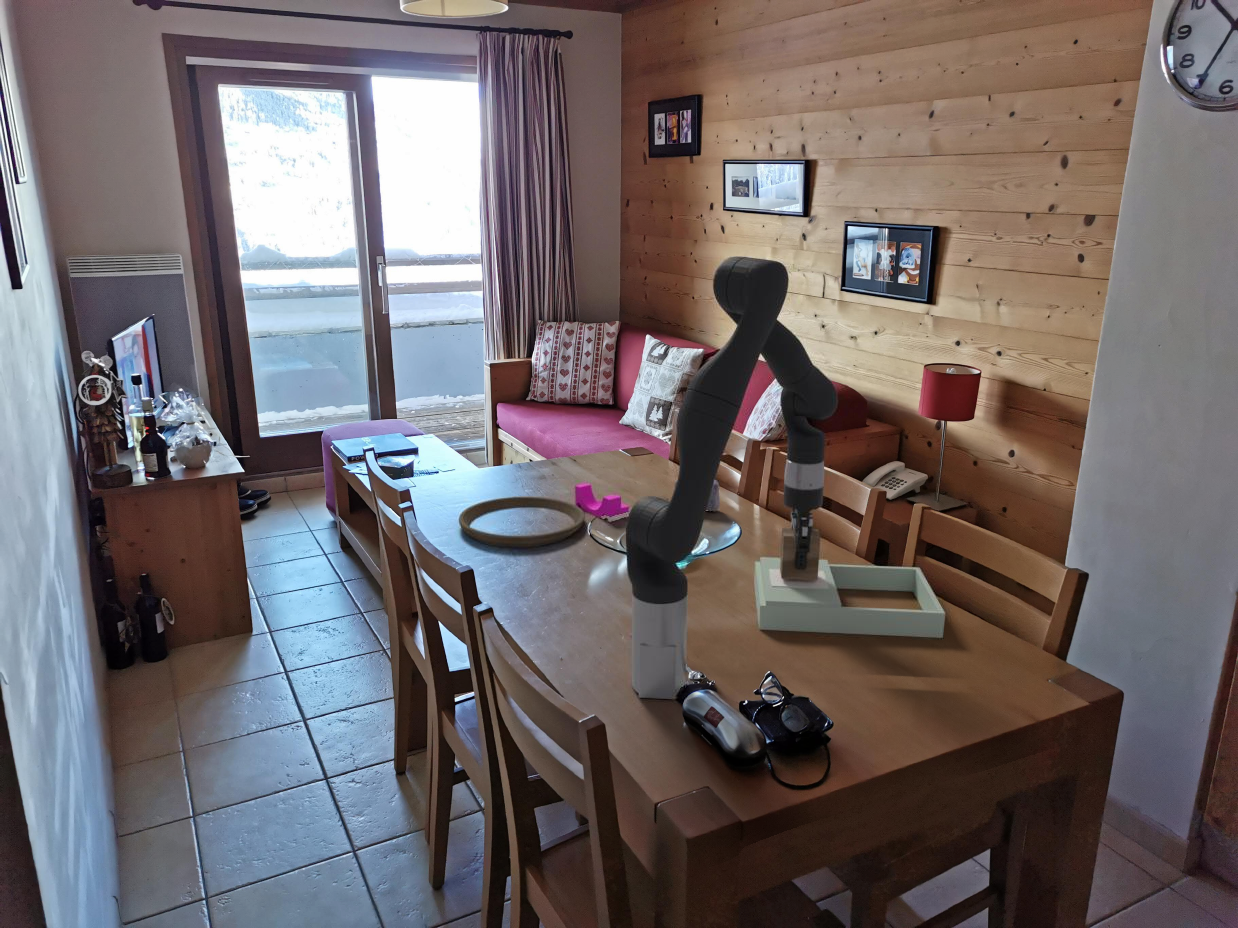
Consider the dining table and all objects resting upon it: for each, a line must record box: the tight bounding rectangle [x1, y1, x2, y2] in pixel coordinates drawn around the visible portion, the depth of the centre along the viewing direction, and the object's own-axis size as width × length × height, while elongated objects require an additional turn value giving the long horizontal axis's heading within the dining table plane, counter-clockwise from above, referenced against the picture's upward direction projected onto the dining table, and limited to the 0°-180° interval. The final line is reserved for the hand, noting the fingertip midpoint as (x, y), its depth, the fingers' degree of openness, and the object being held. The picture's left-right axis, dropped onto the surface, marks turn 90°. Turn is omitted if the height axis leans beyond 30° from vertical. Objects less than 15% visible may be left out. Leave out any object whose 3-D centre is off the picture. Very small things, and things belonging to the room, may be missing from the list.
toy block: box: [574, 482, 630, 518], centre depth 232 cm, size 15×6×8 cm, turn 37°
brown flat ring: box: [458, 496, 586, 549], centre depth 222 cm, size 31×31×5 cm
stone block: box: [674, 478, 721, 513], centre depth 233 cm, size 12×5×10 cm, turn 62°
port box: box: [753, 556, 946, 639], centre depth 179 cm, size 22×34×6 cm, turn 84°
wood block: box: [780, 527, 821, 580], centre depth 177 cm, size 4×7×9 cm, turn 84°
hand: (799, 563), depth 178 cm, fingers closed on wood block, 4 cm apart
